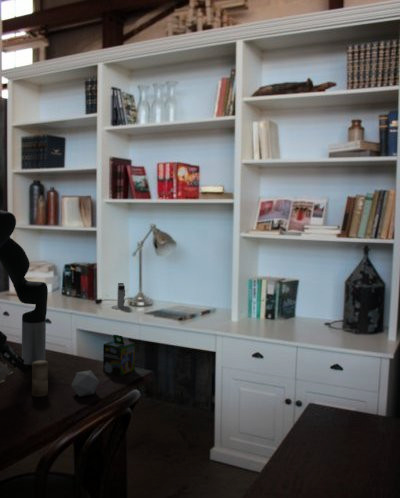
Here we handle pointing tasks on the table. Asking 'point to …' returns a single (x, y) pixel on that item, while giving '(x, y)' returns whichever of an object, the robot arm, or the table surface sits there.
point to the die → (85, 383)
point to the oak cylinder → (39, 378)
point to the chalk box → (118, 356)
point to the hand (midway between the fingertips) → (24, 367)
